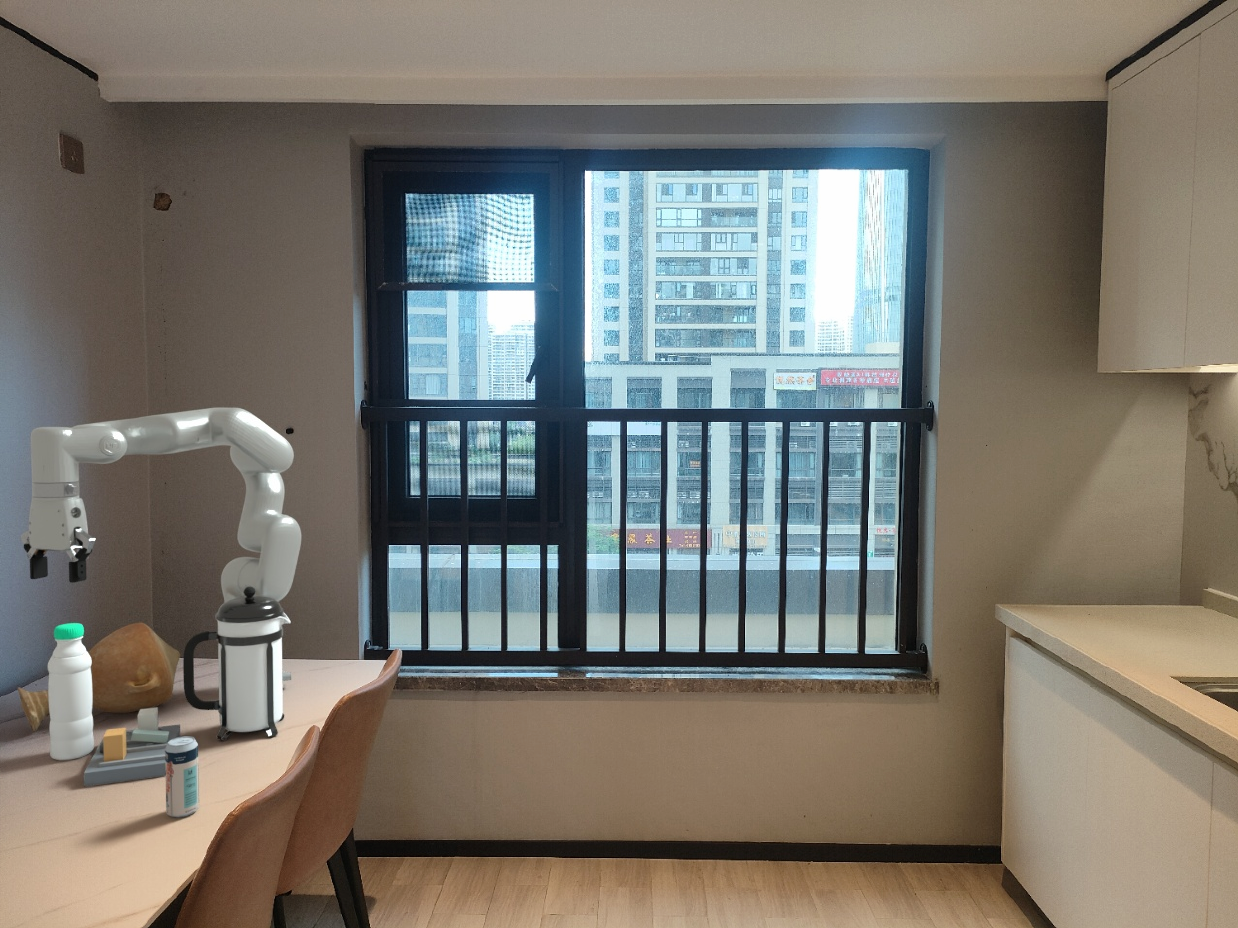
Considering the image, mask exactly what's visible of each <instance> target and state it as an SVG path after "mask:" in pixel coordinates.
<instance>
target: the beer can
mask: <svg viewBox="0 0 1238 928" xmlns="http://www.w3.org/2000/svg"><path fill="white" fill-rule="evenodd" d="M165 772H166V776H165V809H166V810H165V812H166V815H168V816H170V817H172V818H185V817H188V816H190V815H193V814H194V813H195V812H196V811H197V810H198V809H199V808H200V786H199V785H200V783H199V782H200V781H199V780H200V779H199V778H200V777H199V743H198V742H197V740H196V739H195V737H194V736H188V735H187V736H180V737H178V738H175V739H172V740H170V741H169V742H168V744H167V746H166V748H165Z"/></svg>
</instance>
